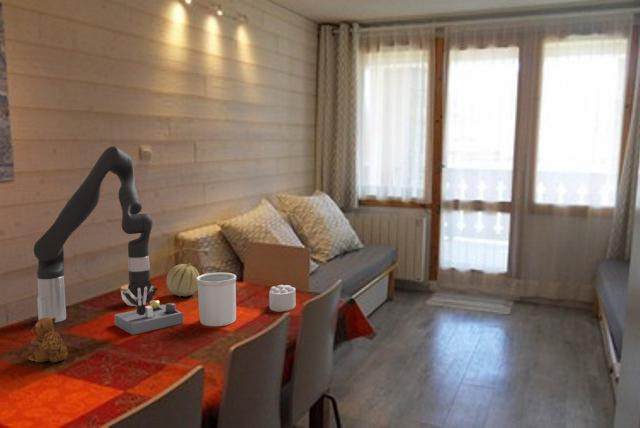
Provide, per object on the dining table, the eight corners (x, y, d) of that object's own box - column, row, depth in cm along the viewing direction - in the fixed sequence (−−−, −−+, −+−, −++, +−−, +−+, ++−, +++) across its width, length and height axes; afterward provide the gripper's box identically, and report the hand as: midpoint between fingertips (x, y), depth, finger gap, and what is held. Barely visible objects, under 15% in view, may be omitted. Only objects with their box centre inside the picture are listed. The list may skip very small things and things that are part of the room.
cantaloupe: (164, 294, 255) (163, 262, 253) (196, 290, 261) (195, 259, 260) (170, 301, 242) (169, 268, 240) (203, 297, 248) (202, 264, 246)
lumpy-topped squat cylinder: (297, 303, 238) (297, 283, 237) (290, 312, 225) (290, 291, 224) (274, 302, 240) (273, 282, 239) (265, 310, 227) (265, 290, 226)
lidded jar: (142, 307, 234) (141, 285, 233) (117, 307, 234) (116, 285, 233) (150, 300, 244) (150, 279, 243) (126, 300, 244) (125, 279, 243)
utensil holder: (229, 328, 205) (228, 281, 203) (191, 326, 208) (190, 280, 206) (242, 316, 220) (241, 273, 218) (207, 314, 223) (206, 271, 221)
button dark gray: (168, 313, 210) (168, 305, 209) (164, 311, 212) (163, 304, 212) (177, 311, 212) (176, 304, 212) (172, 309, 215) (172, 302, 214)
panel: (132, 335, 198) (132, 323, 198) (114, 324, 210) (114, 314, 210) (183, 323, 212) (182, 312, 211) (163, 314, 223) (163, 304, 223)
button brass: (152, 310, 214) (152, 303, 213) (148, 308, 216) (148, 301, 216) (161, 308, 216) (161, 301, 216) (157, 306, 219) (156, 299, 219)
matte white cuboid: (148, 317, 204) (147, 308, 204) (144, 315, 207) (144, 306, 206) (153, 316, 206) (152, 307, 205) (149, 314, 208) (149, 305, 208)
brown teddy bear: (56, 350, 184) (54, 311, 183) (78, 359, 175) (75, 319, 174) (25, 358, 176) (22, 318, 175) (46, 369, 168) (43, 327, 166)
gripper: (125, 272, 195) (128, 320, 197) (160, 267, 204) (162, 313, 206) (117, 269, 200) (119, 316, 202) (151, 264, 209) (153, 309, 211)
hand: (141, 314), depth 204 cm, fingers closed
